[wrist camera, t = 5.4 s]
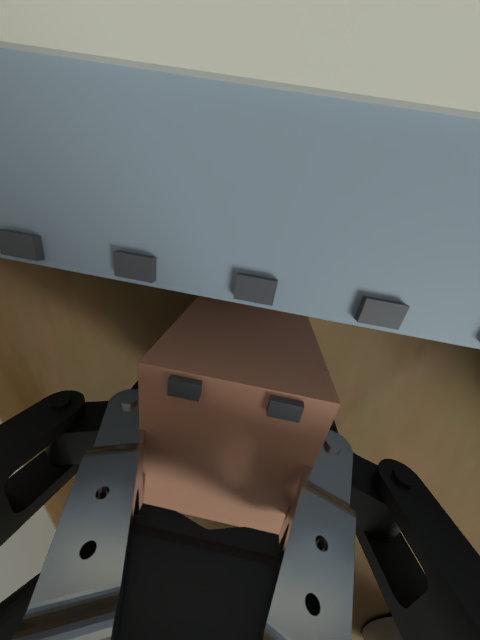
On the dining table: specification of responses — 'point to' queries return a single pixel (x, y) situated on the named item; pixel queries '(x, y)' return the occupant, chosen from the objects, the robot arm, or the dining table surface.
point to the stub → (233, 412)
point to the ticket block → (252, 152)
